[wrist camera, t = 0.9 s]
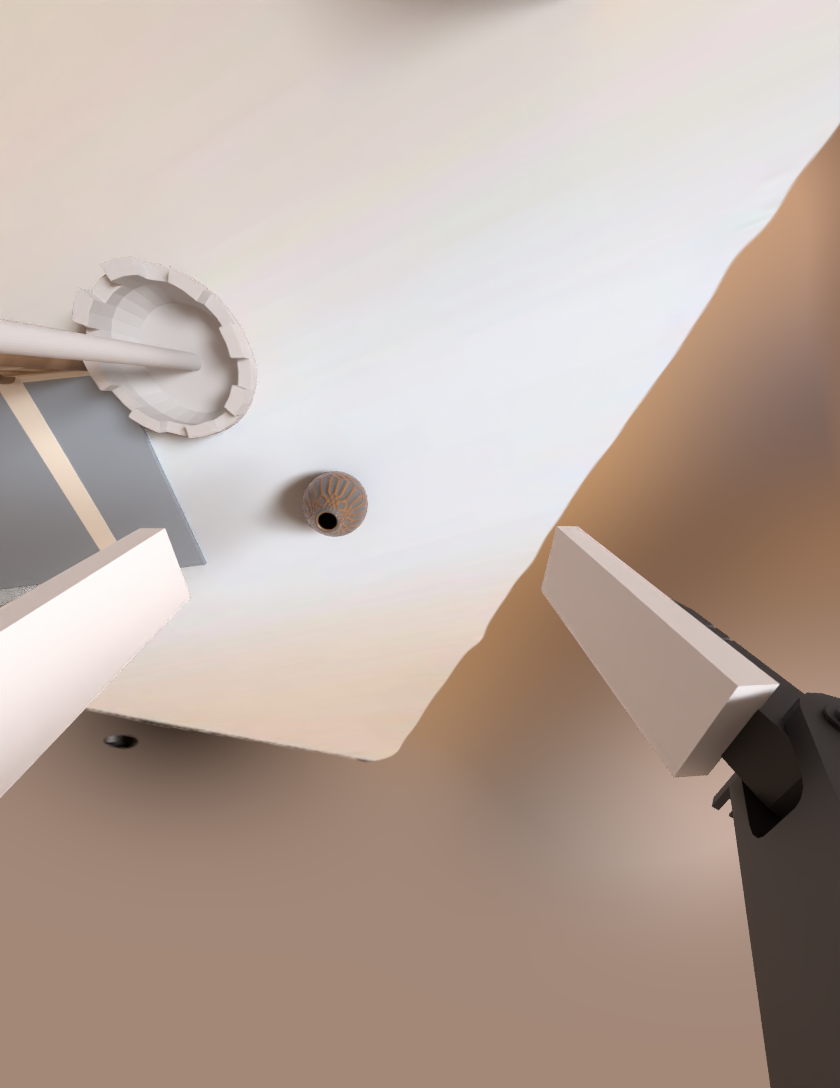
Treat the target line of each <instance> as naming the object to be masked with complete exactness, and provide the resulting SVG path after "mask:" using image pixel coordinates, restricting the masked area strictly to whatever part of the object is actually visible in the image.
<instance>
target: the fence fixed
mask: <svg viewBox="0 0 840 1088" xmlns="http://www.w3.org/2000/svg"><path fill="white" fill-rule="evenodd" d="M70 371H88V370H87V368H86V366H85V364H84V362H83V361H82V360H70V359H59V358H48V357H37V356H26V355H14V354H3V353H0V384H11V383H13V382H14V381H15V377H23V376H32V375H42V374H51V373H60V372H70Z"/></svg>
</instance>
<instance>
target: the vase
mask: <svg viewBox="0 0 840 1088" xmlns="http://www.w3.org/2000/svg"><path fill="white" fill-rule="evenodd" d="M302 504H303V512H304V515H305V518H306V520H307V521H308V523H309V524H310V525H311V527H312V528H314V529H315V530H316V531H318V532H319V533H321V534H324V535H327V536H333V537H337V536H343V535H346V534H349V533H351V532H352V531H354V530H355V529H356V528H358V527H359V526H360V524H361V523H362V522H363V520H364V518H365V516H366V513H367V507H368V501H367V495H366V492H365V490H364V488H363V486H362V485H361V483H360V482H359V481H358V480H357V479H355V478H354V477H353V476H351V475H349V474H347V473H344V472H338V471H332V472H327V473H323V474H321V475H319V476H318V477H316V478H315V479H314V480H313V481H312V482H311V483H310V484H309V485H308V487H307V488H306V490H305V493H304V496H303V503H302Z"/></svg>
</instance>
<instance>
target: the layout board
mask: <svg viewBox="0 0 840 1088" xmlns="http://www.w3.org/2000/svg"><path fill="white" fill-rule="evenodd" d="M131 412H132V411H131V410H130V409H129V408H128V407H127V406H125V405H124V404H123V403H122V402H121V400H120V399H119V398H118V397H117V396H116V395H115V394H114V393H113V392H112V391H101V390H100V389H99V387H98V386H97V384H96V383H95V381H94V380H93V379H92V377H91V376H90V374H89V372H88V371H70V372H60V373H51V374H42V375H32V376H23V377H15V381H14V382H13V383H11V384H0V589H6V588H14V587H23V586H31V585H39V584H42V583H44V582H46V581H48V580H50V579H51V578H53V577H55V576H57V575H58V574H60V573H62V572H64V571H65V570H67V569H69V568H71V567H72V566H74V565H76V564H78V563H79V562H81V561H83V560H85V559H87V558H88V557H90V556H92V555H94V554H95V553H97V552H99V551H101V550H102V549H104V548H106V547H108V546H109V545H111V544H113V543H115V542H116V541H118V540H120V539H122V538H124V537H125V536H127V535H129V534H131V533H132V532H134V531H136V530H138V529H139V528H165V529H166V532H167V534H168V537H169V540H170V542H171V545H172V548H173V551H174V553H175V556H176V559H177V561H178V564H179V567H189V566H197V565H205V564H206V561H205V559H204V557H203V555H202V553H201V551H200V548H199V546H198V544H197V542H196V540H195V538H194V536H193V533H192V531H191V529H190V527H189V525H188V523H187V521H186V518H185V516H184V514H183V512H182V510H181V508H180V506H179V503H178V501H177V499H176V497H175V495H174V493H173V491H172V488H171V486H170V484H169V482H168V480H167V478H166V476H165V473H164V471H163V469H162V467H161V465H160V463H159V461H158V458H157V456H156V454H155V452H154V450H153V448H152V446H151V443H150V441H149V439H148V437H147V435H146V433H145V431H144V428H143V426H142V425H141V424H139V423H137V422H136V421H134V420H133V419H131V418H129V415H130V413H131Z"/></svg>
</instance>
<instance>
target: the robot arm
mask: <svg viewBox="0 0 840 1088" xmlns="http://www.w3.org/2000/svg"><path fill="white" fill-rule="evenodd" d="M541 591H542V592H543V594H544V595H545V597H546V598H547V600H548V601H549V602H550V604H551V605H552V607H553V608H554V609H555V611H556V612H557V613H558V615H559V616H560V618H561V619H562V621H563V622H564V624H565V625H566V626H567V628H568V629H569V631H570V632H571V633H572V635H573V636H574V638H575V639H576V640H577V642H578V643H579V645H580V646H581V648H582V649H583V650H584V652H585V653H586V654H587V656H588V657H589V659H590V660H591V662H592V663H593V664H594V666H595V667H596V669H597V670H598V671H599V673H600V674H601V676H602V677H603V679H604V680H605V681H606V683H607V684H608V685H609V687H610V688H611V690H612V691H613V693H614V694H615V696H616V697H617V698H618V700H619V701H620V703H621V704H622V705H623V707H624V708H625V710H626V711H627V712H628V714H629V715H630V717H631V718H632V719H633V721H634V722H635V724H636V725H637V727H638V728H639V729H640V731H641V732H642V734H643V735H644V736H645V738H646V739H647V741H648V742H649V743H650V745H651V746H652V748H653V749H654V751H655V752H656V753H657V755H658V756H659V757H660V759H661V760H662V762H663V763H664V765H665V766H666V767H667V769H668V770H669V772H670V773H671V774H672V776H673V777H687V776H701V775H708V774H709V773H710V772H711V770H712V769H713V768H714V767H715V765H716V764H717V763H718V762H719V760H720V759H721V758H723V759H724V760H725V761H726V762H727V763H728V765H729V766H730V767H731V768H732V769H733V770H734V771H735V773H734V774H733V775H732V777H731V778H730V779H729V780H728V781H727V782H726V784H725V785H724V786H723V787H722V788H721V789H720V791H719V792H718V793H717V794H716V796H714V799H713V804H712V807H714V808H716V809H718V810H719V809H720V808H721V807H722V806H723V805H724V804H725V803H726V802H727V800H728V799H731V804H732V812H731V813H730V814H729V816H730V817H732V818H734V826H735V833H736V840H737V847H738V855H739V862H740V869H741V876H742V884H743V890H744V898H745V905H746V913H747V920H748V927H749V934H750V942H751V949H752V956H753V963H754V971H755V977H756V985H757V992H758V999H759V1007H760V1013H761V1021H762V1029H763V1036H764V1043H765V1050H766V1057H767V1065H768V1072H769V1079H770V1087H771V1088H840V698H836V697H833V696H829V695H826V694H822V693H806V694H804V693H802V692H801V691H799V690H798V689H797V688H795V687H794V686H793V685H792V684H790V683H789V682H787V681H786V680H785V679H783V678H782V677H781V676H780V675H778V674H777V673H776V672H774V671H773V670H771V669H770V668H769V667H767V666H766V665H765V664H764V663H762V662H761V661H760V660H759V659H757V658H756V657H755V656H753V655H752V654H751V653H749V652H748V651H747V650H745V649H744V648H743V647H741V646H740V645H739V644H737V643H736V642H735V641H730V639H729V637H728V636H727V635H726V634H724V633H723V632H722V631H720V630H719V629H717V628H714V627H713V625H712V624H711V623H710V622H708V621H707V620H706V619H704V618H703V617H702V616H700V615H699V614H697V613H696V612H695V611H693V610H692V609H690V608H688V607H686V606H684V605H682V604H680V603H678V602H676V601H674V600H672V599H670V598H669V597H667V596H666V595H665V594H664V593H662V592H661V591H660V590H658V589H657V588H656V587H655V586H653V585H652V584H651V583H649V582H648V581H647V580H645V579H644V578H643V577H642V576H640V575H639V574H638V573H637V572H635V571H634V570H633V569H631V568H630V567H629V566H627V565H626V564H625V563H624V562H623V561H621V560H620V559H619V558H617V557H616V556H615V555H613V554H612V553H611V552H610V551H608V550H607V549H606V548H604V547H603V546H602V545H601V544H599V543H598V542H597V541H596V540H594V539H593V538H592V537H590V536H589V535H588V534H587V533H585V532H584V531H583V530H581V529H580V528H579V527H578V526H557V527H556V531H555V535H554V539H553V543H552V547H551V551H550V556H549V559H548V563H547V567H546V572H545V576H544V580H543V584H542V588H541ZM190 598H191V596H190V594H189V591H188V588H187V585H186V583H185V580H184V577H183V575H182V572H181V569H180V567H179V564H178V561H177V559H176V556H175V553H174V551H173V548H172V545H171V542H170V540H169V537H168V534H167V532H166V529H165V528H139V529H138V530H136V531H134V532H132V533H131V534H129V535H127V536H125V537H124V538H122V539H120V540H118V541H116V542H115V543H113V544H111V545H109V546H108V547H106V548H104V549H102V550H101V551H99V552H97V553H95V554H94V555H92V556H90V557H88V558H87V559H85V560H83V561H81V562H79V563H78V564H76V565H74V566H72V567H71V568H69V569H67V570H65V571H64V572H62V573H60V574H58V575H57V576H55V577H53V578H51V579H50V580H48V581H46V582H44V583H42V584H41V585H39V586H37V587H35V588H34V589H32V590H30V591H28V592H27V593H25V594H23V595H21V596H20V597H18V598H16V599H14V600H13V601H11V602H9V603H7V604H6V605H4V606H2V607H0V798H1V796H3V795H4V793H6V791H7V790H8V789H9V788H10V787H11V786H12V785H13V784H14V783H15V782H16V781H17V779H19V778H20V777H21V776H22V775H23V774H24V773H25V771H26V770H27V769H28V768H29V767H30V766H31V765H32V764H33V763H34V762H35V761H36V760H37V759H38V758H39V757H40V756H41V755H42V753H44V752H45V750H46V749H47V748H48V747H49V746H50V745H51V744H52V743H53V742H54V741H55V740H56V739H57V738H58V737H59V736H60V735H61V734H62V733H63V732H64V730H65V729H66V728H67V727H68V726H69V725H70V724H71V723H72V722H73V721H74V720H75V719H76V718H77V717H78V716H79V715H80V714H81V713H82V712H83V711H84V709H85V708H86V707H87V706H88V705H89V704H90V703H91V702H92V701H93V700H94V699H95V698H96V697H97V696H98V695H99V694H100V693H101V692H102V691H103V689H104V688H105V687H106V686H107V685H108V684H109V683H110V682H111V681H112V680H113V679H114V678H115V677H116V676H117V675H118V674H119V673H120V672H121V671H122V670H123V668H124V667H125V666H126V665H127V664H128V663H129V662H130V661H131V660H132V659H133V658H134V657H135V656H136V655H137V654H138V653H139V652H140V651H141V650H142V648H143V647H144V646H145V645H146V644H147V643H148V642H149V641H150V640H151V639H152V638H153V637H154V636H155V635H156V634H157V633H158V632H159V631H160V630H161V629H162V627H163V626H164V625H165V624H166V623H167V622H168V621H169V620H170V619H171V618H172V617H173V616H174V615H175V614H176V613H177V612H178V611H179V610H180V609H181V608H182V606H183V605H184V604H185V603H186V602H187V601H188V600H189V599H190Z"/></svg>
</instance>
